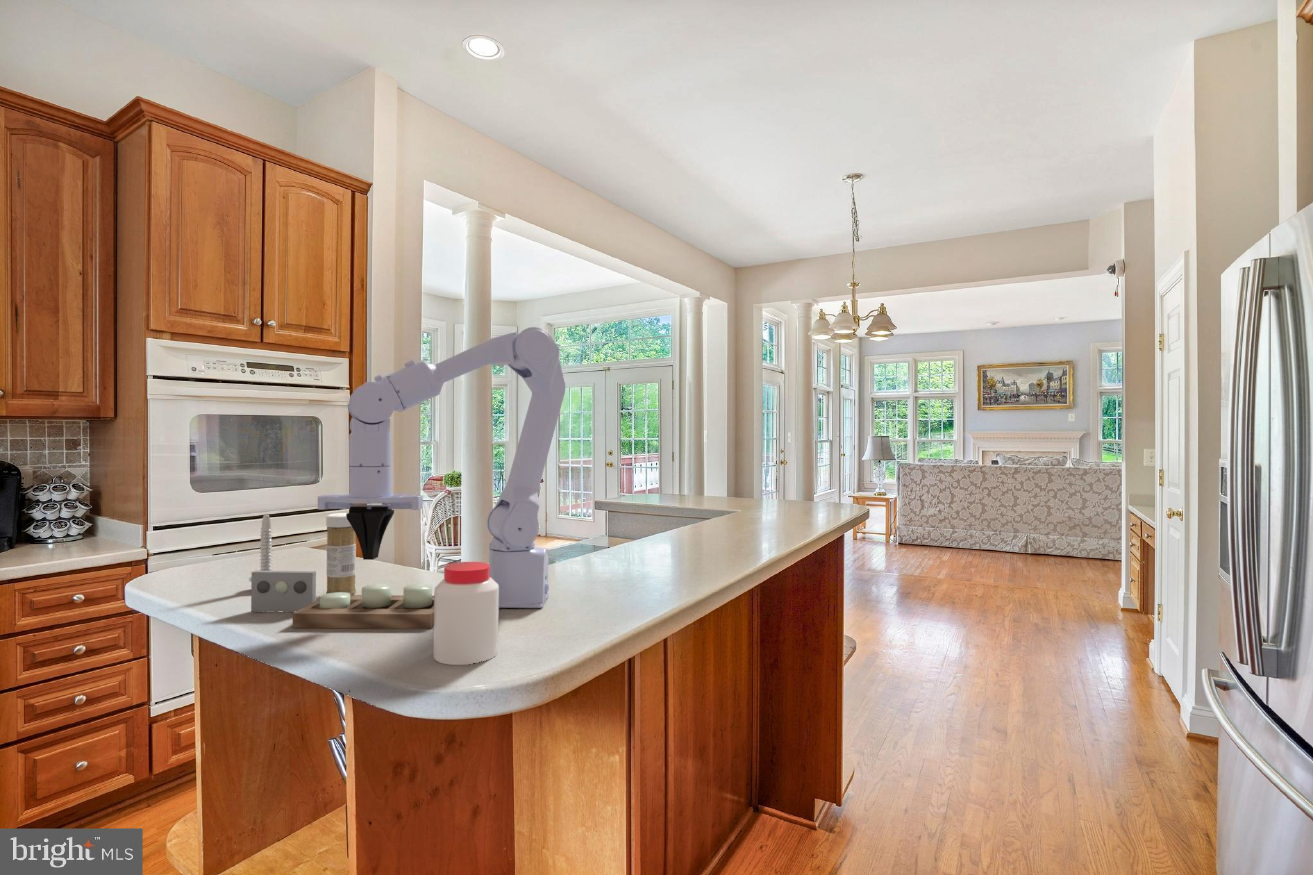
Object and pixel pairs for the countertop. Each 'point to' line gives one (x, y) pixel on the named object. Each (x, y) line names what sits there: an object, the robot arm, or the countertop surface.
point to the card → (282, 590)
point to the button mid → (376, 595)
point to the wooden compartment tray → (365, 615)
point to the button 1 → (335, 600)
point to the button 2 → (417, 596)
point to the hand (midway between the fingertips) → (370, 558)
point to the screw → (265, 545)
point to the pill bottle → (466, 614)
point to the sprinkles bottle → (340, 554)
